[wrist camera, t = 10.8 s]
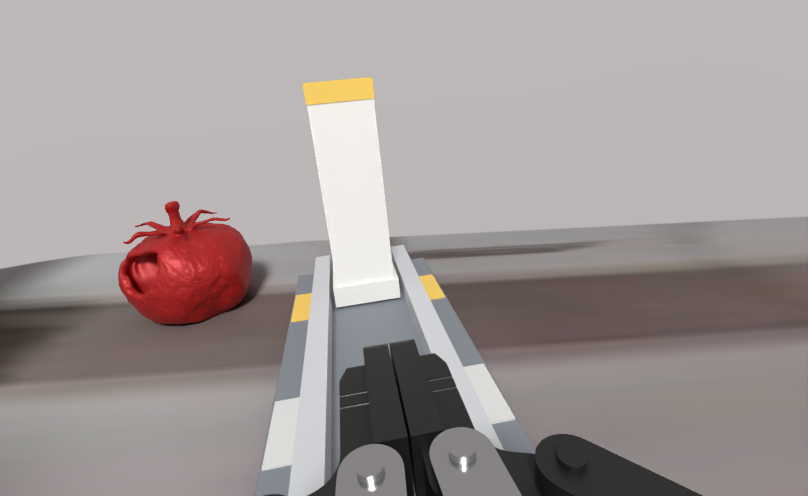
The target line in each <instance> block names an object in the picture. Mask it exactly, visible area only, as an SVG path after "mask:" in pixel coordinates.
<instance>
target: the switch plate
mask: <svg viewBox="0 0 808 496" xmlns="http://www.w3.org/2000/svg"><path fill="white" fill-rule="evenodd" d="M390 248H391V257H392V262H393V265H394V268H395V270H396V273H397V276H398V279H399V288H400V298H394V299H388V300H381V301H375V302H369V303H363V304H356V305H350V306H344V307H337V308H336V303H335V297H334V291H333V270H332V264H331V258H330V255H329V256H322V257H316V262H315V270H314V274H311V275H304V276H299V279H298V284H297V289H296V294H295V299H294V304H293V309H292V314H291V319H290V324H289V329H288V333H287V338H286V343H285V348H284V353H283V358H282V363H281V368H280V373H279V378H278V383H277V388H276V393H275V398H274V403H273V408H272V413H271V418H270V422H269V427H268V432H267V437H266V442H265V447H264V452H263V457H262V462H261V467H260V472H259V477H258V482H257V487H256V492H255V496H264V495H269V494H280V495H285V496H307V495H309V494H311V493H313V492H315V491H316V490H318V489H319V488H321V487H322V486H323V485H325V484H326V483H327V482H328V481H329V480H330V478H331V477H332V476H333V474H334V473H335V471H336V469H337V467H338V465H339V461H340V396H339V381H340V379H341V377H342V376H343V374H344V372H345V370H346V368H351V367H356V366H362V365H365V363H364V354H363V347H367V346H373V345H379V344H385V343H387V344H388V348H389V352H390V346H389V343H392V342H398V341H404V340H410V339H414V340H415V343H416V346H417V349H418V352H419V355H420V356H421V355H427V354H432V353H435V354H437V355H438V356H439V357H440V358H441V359H443V360H444V361H445V362H446V363H447V365H448V367H449V370H450V372H451V374H452V378H453V379H454V381H455V384H456V387H457V388H458V391H459V393H460V395H461V398H462V400H463V402H464V405H465V407H466V409H467V412H468V414H469V416H470V419H471V421H472V423H473V426H474V428H475V430H477V431H479V432H481V433H483V434H484V435H485V436H487V437H488V438H489V440H490V441H491V442H492V444H493V445H494V447H496V448H498V449H501V450H505V451H511V452H521V453H532V454H535V452H536V451H535V449H534V447H533V445H532V444H531V442H530V440H529V439H528V437H527V435H526V433H525V432H524V430H523V428H522V427H521V425H520V423H519V421H518V420H517V418H516V416H515V414H514V413H513V411H512V409H511V408H510V406H509V404H508V402H507V401H506V399H505V397H504V396H503V394H502V392H501V390H500V389H499V387H498V385H497V383H496V382H495V380H494V378H493V377H492V375H491V373H490V371H489V370H488V368H487V366H486V365H485V363H484V361H483V359H482V358H481V356H480V354H479V353H478V351H477V349H476V347H475V346H474V344H473V342H472V340H471V339H470V337H469V335H468V334H467V332H466V330H465V328H464V327H463V325H462V323H461V322H460V320H459V318H458V316H457V315H456V313H455V311H454V309H453V308H452V306H451V304H450V303H449V301H448V299H447V297H446V296H445V294H444V292H443V291H442V289H441V287H440V285H439V284H438V282H437V280H436V279H435V277H434V275H433V273H432V272H431V270H430V268H429V266H428V265H427V263H426V261H425V260H424V258H418V259H411V260H410V258H409V255H408V253H407V251H406V249H405V247H404V245H398V246H391V247H390ZM390 357H391V355H390ZM413 488H414V486H413ZM414 496H416V495H415V490H414Z"/></svg>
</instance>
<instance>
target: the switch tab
mask: <svg viewBox="0 0 808 496" xmlns="http://www.w3.org/2000/svg"><path fill="white" fill-rule="evenodd" d="M303 89H304V95H305V101H306V105H307V108H308V114H309V120H310V125H311V132H312V138H313V144H314V150H315V156H316V162H317V168H318V173H319V180H320V186H321V191H322V198H323V204H324V210H325V216H326V222H327V228H328V234H329V240H330V246H331V252H332V258H333V264H334V265H333V291H334V297H335V303H336V308H337V307H344V306H350V305H356V304H363V303H369V302H375V301H381V300H388V299H394V298H400V288H399V279H398V276H397V273H396V270H395V268H394V265H393V262H392V257H391V248H390V239H389V230H388V221H387V212H386V204H385V195H384V185H383V177H382V168H381V159H380V150H379V141H378V132H377V123H376V114H375V105H374V88H373V79H372V77H366V78H355V79H344V80H335V81H323V82H312V83H303Z"/></svg>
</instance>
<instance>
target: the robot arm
mask: <svg viewBox="0 0 808 496" xmlns="http://www.w3.org/2000/svg"><path fill="white" fill-rule="evenodd" d="M389 346H390V352H389V348H388V344H387V343H385V344H379V345H373V346H367V347H363V354H364V363H365V365H362V366H356V367H351V368H346V370H345V372H344V374H343V376H342V377H341V379H340V381H339V396H340V461H339V465H338V467H337V469H336V471H335V473H334V474H333V476H332V477H331V478H330V480H329V481H328V482H327V483H326V484H325V485H323V486H322V487H321V488H319V489H318V490H316V491H315V492H313V493H311V494H309V495H307V496H414V490H415V495H416V496H702V495H700V494H698V493H696V492H694V491H692V490H690V489H688V488H686V487H683V486H681V485H679V484H677V483H675V482H673V481H671V480H669V479H667V478H665V477H662V476H660V475H658V474H656V473H654V472H652V471H650V470H648V469H646V468H644V467H641V466H639V465H637V464H635V463H633V462H631V461H629V460H627V459H625V458H623V457H621V456H618V455H616V454H614V453H612V452H610V451H608V450H606V449H604V448H602V447H600V446H597V445H595V444H593V443H591V442H589V441H587V440H585V439H582V438H580V437H577V436H574V435H568V434H556V435H552V436H549V437H547V438H545V439H543V440H542V441H541V442H540V443H539V444H538V446H537V448H536V452H535V454H532V453H521V452H511V451H505V450H501V449H498V448H496V447H494V445H493V444H492V442H491V441H490V440H489V438H488V437H487V436H485V435H484V434H483V433H481V432H479V431H477V430H475V428H474V426H473V423H472V421H471V419H470V416H469V414H468V412H467V409H466V407H465V405H464V402H463V400H462V398H461V395H460V393H459V391H458V388H457V387H456V384H455V381H454V379H453V378H452V374H451V372H450V370H449V367H448V365H447V363H446V362H445V361H444V360H443V359H441V358H440V357H439V356H438V355H437V354H435V353H432V354H427V355H421V356H420V355H419V352H418V349H417V346H416V343H415V340H414V339H410V340H404V341H398V342H392V343H389ZM390 355H391V357H390ZM413 486H414V488H413ZM264 496H285V495H280V494H269V495H264Z"/></svg>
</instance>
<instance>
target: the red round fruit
mask: <svg viewBox="0 0 808 496" xmlns="http://www.w3.org/2000/svg"><path fill="white" fill-rule="evenodd" d="M179 207H180V205H179V203H178V202H177V201H173V202H169V203H167V204H166V205H165V210H166V212H167V213H168V215H169V218H170V224H171V226H163V225H160V224H157V223H154V222H146V223H143V224H140V225H138V226H135V227H139V226H143V225H149V226H151V227H153V228H155V229H157V230H155V231H152V232H137V233H136V234H134V235H133V236H132V238H131V239H130V240H129V241H127V242H123V243H125V244H129V243H131V242H132V241H133V240H135V239H136V238H138V237H142V236H147V237H146V238H145V239H144V240H143V241H142V242H141V243H139V244H138V245H137V246H136V247H134V248H133V249H132V250H131V251H130V252H129V253H128V255H127V256H126V259H125V260H124V261H123V262H122V263H121V265H120V268H119V273H118V280H119V286H120V288H121V291H122V292H123V293H124V295H125V296H126V298H127V300H128V302H130V303H131V304H132V305H133V306H135V308H136V309H137V310H138V311H139V312H140V313H141V314H142V315H143V316H145V317H146V318H148V319H150V320H152V321H155V322H156V323H160V324H186V323H196V322H200V321H203V320H206V319H209V318H211V317H213V316H214V315H216V314H219V313H222V312H225V311H228V310H229V309H231V308H233V307H235V306H236V305H238V304H239V303H240V302H241V301H242V300H243V298H244V296H245V295H246V293H247V289H248V286H249V284H250V282H251V265H252V256H251V251H250V249H249V247H248V245H247V243H246V242H245V240H244V238H243V237H242V235H241V234H240V232H238V231H237V230H236V229H235V228H233V227H231V226H229V225H225V224H213V223H207V222H209V221H214V220H219V221H227V220H229V219H230V218H228V219H223V218H211V219H208V220H204V221H201V222H195V221H196V219H197V218H198V217H199V215H200V214H201V213H210V214H214V213H212V212H209V211H205V210H198V211H197V212H196V213H194V214H193V215H192V216H190V217H189V218H188V219H187V220H186V221H185V222H183V220H181V217H180V215H179V211H178V210H179ZM194 222H195V223H194Z"/></svg>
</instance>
